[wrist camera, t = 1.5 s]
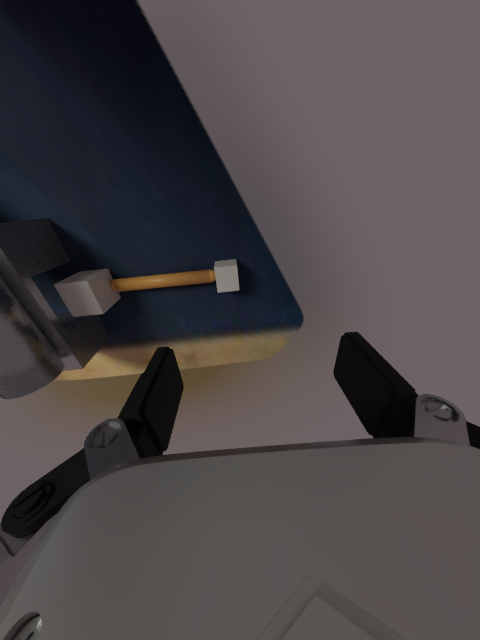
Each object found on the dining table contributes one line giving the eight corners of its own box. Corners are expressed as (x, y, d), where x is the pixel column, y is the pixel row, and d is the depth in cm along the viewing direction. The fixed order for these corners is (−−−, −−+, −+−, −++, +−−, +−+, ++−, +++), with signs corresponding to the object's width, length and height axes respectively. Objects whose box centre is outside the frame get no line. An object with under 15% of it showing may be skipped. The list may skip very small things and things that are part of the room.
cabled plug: (68, 272, 28) (40, 285, 24) (235, 255, 28) (237, 265, 24) (84, 301, 30) (61, 318, 26) (238, 285, 30) (240, 299, 26)
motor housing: (-2, 223, 24) (-205, 244, 13) (47, 218, 24) (-112, 235, 13) (74, 340, 34) (-4, 413, 22) (110, 336, 34) (49, 407, 22)
